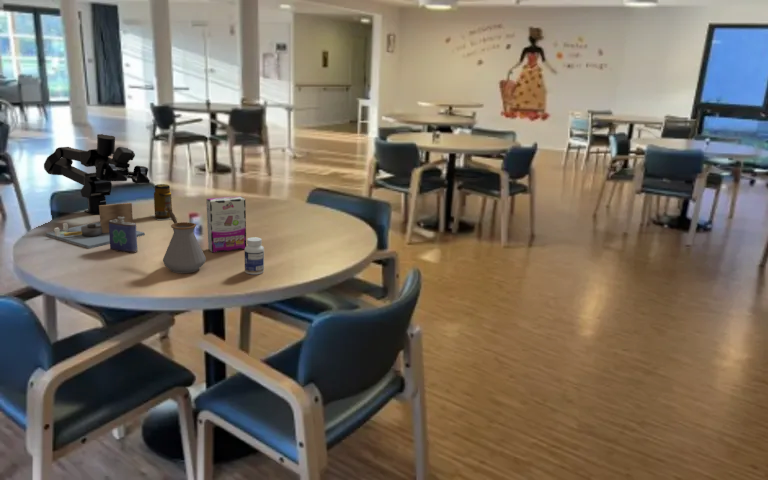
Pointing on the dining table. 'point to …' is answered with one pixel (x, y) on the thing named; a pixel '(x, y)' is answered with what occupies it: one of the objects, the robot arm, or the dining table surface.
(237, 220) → the candy bar box
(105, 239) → the stand
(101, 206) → the brown piece
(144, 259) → the dining table surface
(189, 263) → the coffee pot
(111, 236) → the flask
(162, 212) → the condiment
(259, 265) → the pill bottle
